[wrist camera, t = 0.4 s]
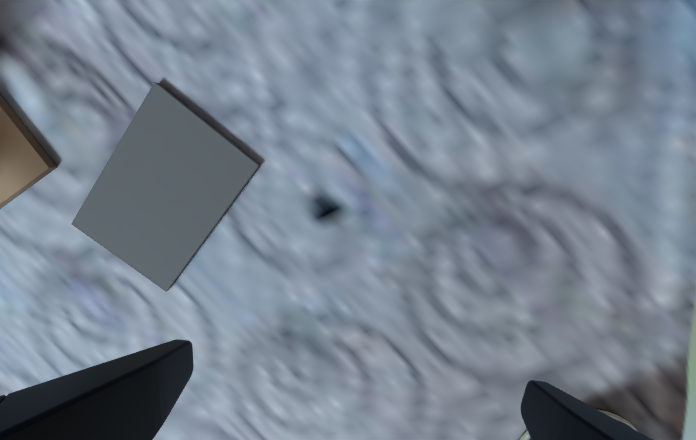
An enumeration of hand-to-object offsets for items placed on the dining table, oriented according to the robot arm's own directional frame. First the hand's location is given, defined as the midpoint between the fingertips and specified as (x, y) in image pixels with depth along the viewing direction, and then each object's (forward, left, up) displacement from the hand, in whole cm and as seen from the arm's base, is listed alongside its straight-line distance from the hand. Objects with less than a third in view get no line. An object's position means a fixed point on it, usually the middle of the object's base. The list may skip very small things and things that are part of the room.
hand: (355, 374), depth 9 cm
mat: (-2, -14, -14) cm, 20 cm away
